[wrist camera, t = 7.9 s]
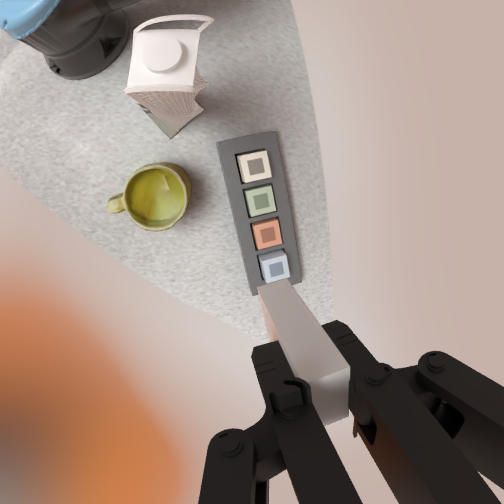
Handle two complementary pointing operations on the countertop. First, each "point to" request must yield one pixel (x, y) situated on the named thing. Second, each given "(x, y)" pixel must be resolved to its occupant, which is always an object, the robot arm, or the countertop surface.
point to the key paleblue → (274, 265)
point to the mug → (154, 196)
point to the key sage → (259, 200)
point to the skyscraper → (167, 73)
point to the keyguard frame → (243, 219)
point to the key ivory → (254, 166)
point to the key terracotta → (266, 233)
